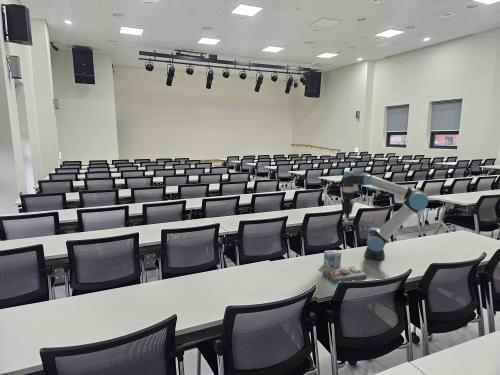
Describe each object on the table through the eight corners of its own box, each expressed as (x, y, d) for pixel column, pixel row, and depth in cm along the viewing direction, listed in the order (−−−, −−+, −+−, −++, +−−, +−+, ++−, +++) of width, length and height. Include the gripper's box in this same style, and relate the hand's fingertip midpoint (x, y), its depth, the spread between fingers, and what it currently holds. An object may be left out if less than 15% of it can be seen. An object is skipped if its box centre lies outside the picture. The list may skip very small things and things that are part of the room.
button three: (334, 274, 221) (335, 270, 220) (339, 278, 216) (339, 273, 216) (328, 275, 219) (328, 271, 219) (332, 279, 215) (332, 274, 214)
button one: (355, 271, 226) (356, 267, 226) (360, 274, 222) (360, 270, 221) (349, 272, 225) (350, 268, 224) (354, 275, 220) (354, 271, 220)
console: (353, 270, 231) (353, 266, 231) (366, 278, 218) (366, 274, 218) (322, 275, 223) (323, 270, 223) (334, 283, 210) (334, 279, 210)
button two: (345, 270, 223) (345, 266, 223) (350, 273, 219) (350, 269, 218) (339, 271, 222) (339, 267, 221) (343, 274, 217) (344, 270, 217)
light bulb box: (327, 268, 235) (328, 254, 233) (323, 264, 241) (323, 250, 239) (340, 266, 237) (341, 252, 236) (336, 263, 244) (336, 249, 242)
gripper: (338, 190, 249) (337, 220, 253) (349, 193, 237) (347, 224, 241) (346, 190, 252) (345, 219, 255) (357, 193, 240) (355, 224, 243)
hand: (346, 222), depth 248 cm, fingers closed
